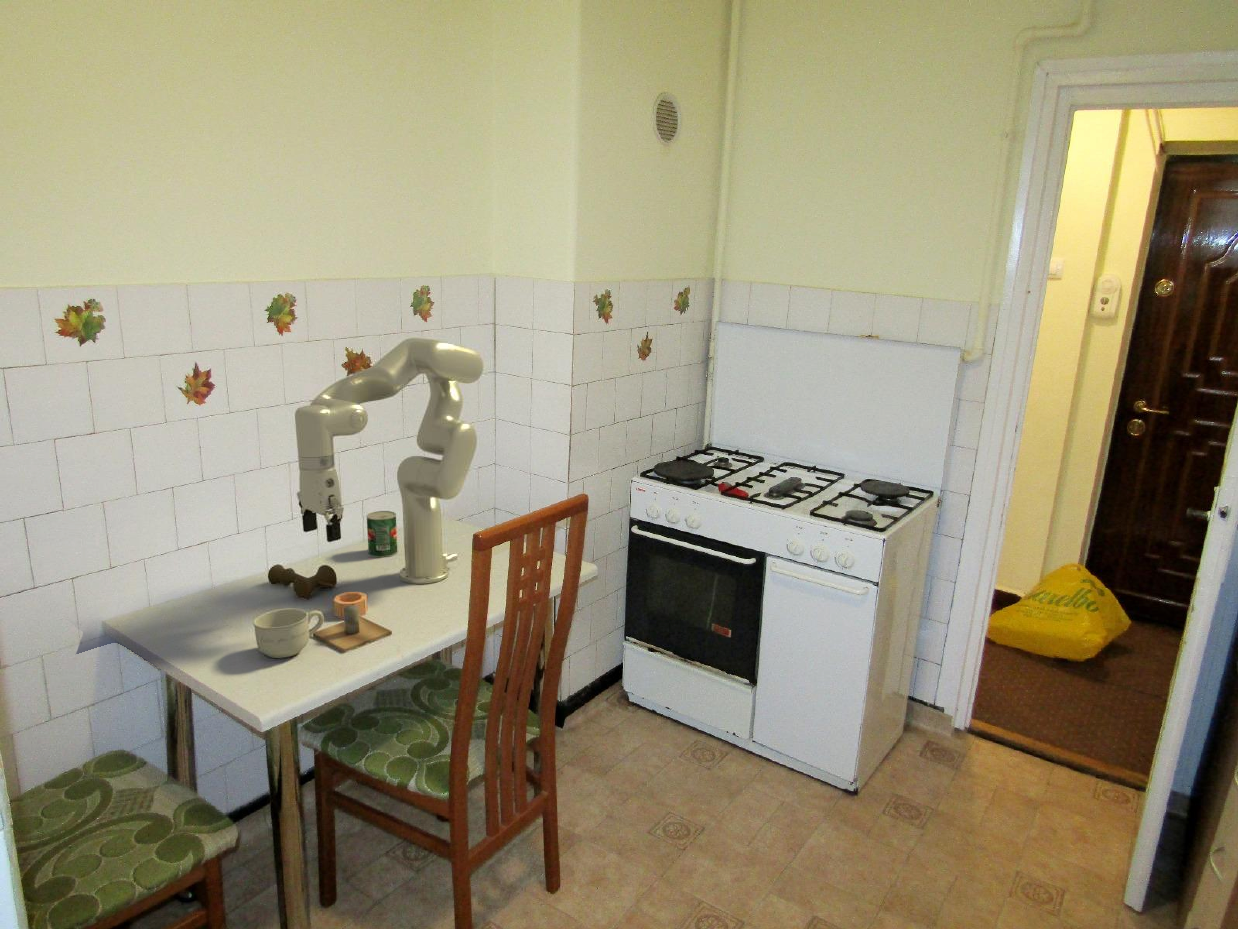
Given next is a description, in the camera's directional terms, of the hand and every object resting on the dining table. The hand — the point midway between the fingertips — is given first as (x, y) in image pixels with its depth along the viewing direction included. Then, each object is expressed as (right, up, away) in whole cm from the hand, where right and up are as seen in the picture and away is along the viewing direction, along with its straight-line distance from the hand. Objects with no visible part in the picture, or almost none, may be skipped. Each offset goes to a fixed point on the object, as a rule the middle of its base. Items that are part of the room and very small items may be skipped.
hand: (322, 535), depth 199 cm
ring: (+4, -19, +8) cm, 20 cm away
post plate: (+8, -22, -4) cm, 24 cm away
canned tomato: (+1, -9, +47) cm, 48 cm away
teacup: (-2, -24, -12) cm, 26 cm away
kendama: (-11, -16, +20) cm, 28 cm away
